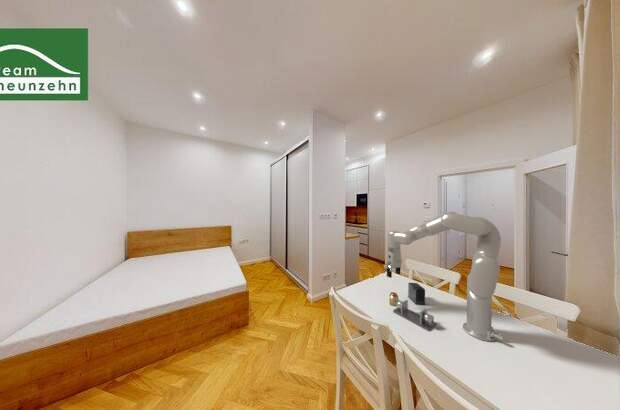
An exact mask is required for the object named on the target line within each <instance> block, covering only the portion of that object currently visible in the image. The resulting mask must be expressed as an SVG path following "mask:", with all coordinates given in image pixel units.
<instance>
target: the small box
mask: <svg viewBox="0 0 620 410" xmlns="http://www.w3.org/2000/svg"><path fill="white" fill-rule="evenodd" d="M407 285H408V286H407V287H408V289H407V291H408V293H407V297H408V299H409V300H410V301H411V302H413V303H414V304H415V305H419V306H425V305H426V289H425V288H424V287H423V286H421V285H420V284H419V283H417V282H408V283H407Z"/></svg>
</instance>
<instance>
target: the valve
mask: <svg viewBox="0 0 620 410" xmlns="http://www.w3.org/2000/svg"><path fill="white" fill-rule="evenodd" d="M397 300H399V295H398V293H396V292H392V291H391V292H390V293H389V300H388V301H389V305H390V306H391V307H396V301H397ZM396 308H397V307H396Z"/></svg>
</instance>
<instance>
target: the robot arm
mask: <svg viewBox="0 0 620 410" xmlns="http://www.w3.org/2000/svg"><path fill="white" fill-rule="evenodd" d="M447 230H452V231H453V230H454V231H457V232H460V233H465V234H469V235H474V236H477V241H476V246H475V251H474V254H473V257H472V259H471V263H472V264H471V268H470V273H468V275H467V279H466V286H467V287H466V322H465V323H463V324H462V329H463V331H464V332H466V333H467V334H468V335H470V336H472V337H473V338H475V339H478V340H481V341H486V342H494V341H496V339H498V340H499V341H501V342H504V336H503V335H502V333H500V332H497V331H495V330H494V327H493V326H492V323H493V322H492V319H493V318H492V316H493V315H492V314H493V313H492V312H493V311H492V310H493V295H494V293H495V291H496V286H497V284H498V280H499V277H500V276H499V275H500V271H501V270H500V268H501V267H500V263H499V261H498V258H499V255H500V249H501V244H502V237H501V233H500V231H499V230H498V228H497V226H496V225H494V223H492V222H491V221H490V220H488V219H487V218H484V217H481V216H474V217H473V216H469V215H466V214H465V215H464V214H460V213H457V212H455V211H448V212H445V213H443V214H440V215H438V216H436V217H434V218H432V219H429V220H427V221H426V222H423V223H422V224H421V225H418V226H416V227H413V228H411V229H408V230H406V231H405V232H400V231H397V230H389V231H388V233H387V234H388V235H387V256H386V262H385V265H384V267H385V270H386V277H387V278H391V279H392V277H393V276H392V275H393V274H392V273H393V272H392V270H393V269H395V272H394V273H395V274H397V275H401V268H402V265H403V264H402V263H403V259H402V252H401V244H402V245H403V246H405V245H406V246H409V245H411V244H412V243H414V242H416V241H418V240H420V239H423V238H425V237H431V236H436V235H438V234H440V233H443V232H446V231H447Z"/></svg>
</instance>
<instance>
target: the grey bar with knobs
mask: <svg viewBox="0 0 620 410" xmlns="http://www.w3.org/2000/svg"><path fill="white" fill-rule="evenodd" d="M408 302H409V301H408V299H406V300H400V299H398V300H397V301H396V308H394V309H393V310H392V313H393V314H395V315H397V316H400V317H402V318H403V319H405V320H407V321H409V322H411V323H413V324H415V325H416V326H418V327H420V328H421V329H424V330H426V331H427V332H429V331H430V330H431V329H433V328H434V327H435V326H437V322H436V321H435V316H434V315H432V314H430V313H428V309H427V308H423V310H421V311H419V313H417V312H415V311H413V310H411V309H410V308H409V306H408V304H409V303H408Z"/></svg>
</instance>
